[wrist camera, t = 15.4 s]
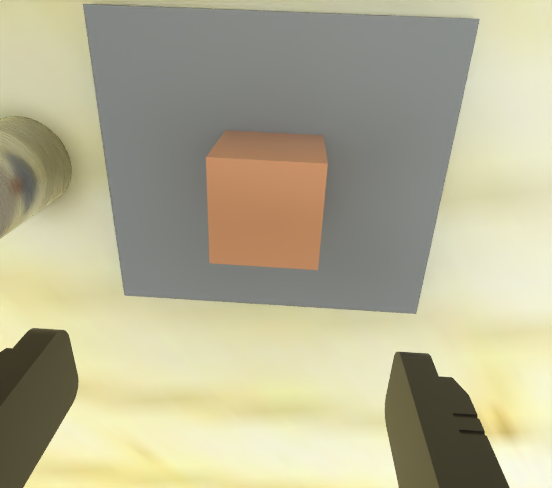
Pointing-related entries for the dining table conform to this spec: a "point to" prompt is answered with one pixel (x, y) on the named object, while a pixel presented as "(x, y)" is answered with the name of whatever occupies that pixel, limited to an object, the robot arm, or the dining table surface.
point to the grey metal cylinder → (29, 170)
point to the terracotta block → (266, 199)
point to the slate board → (278, 119)
